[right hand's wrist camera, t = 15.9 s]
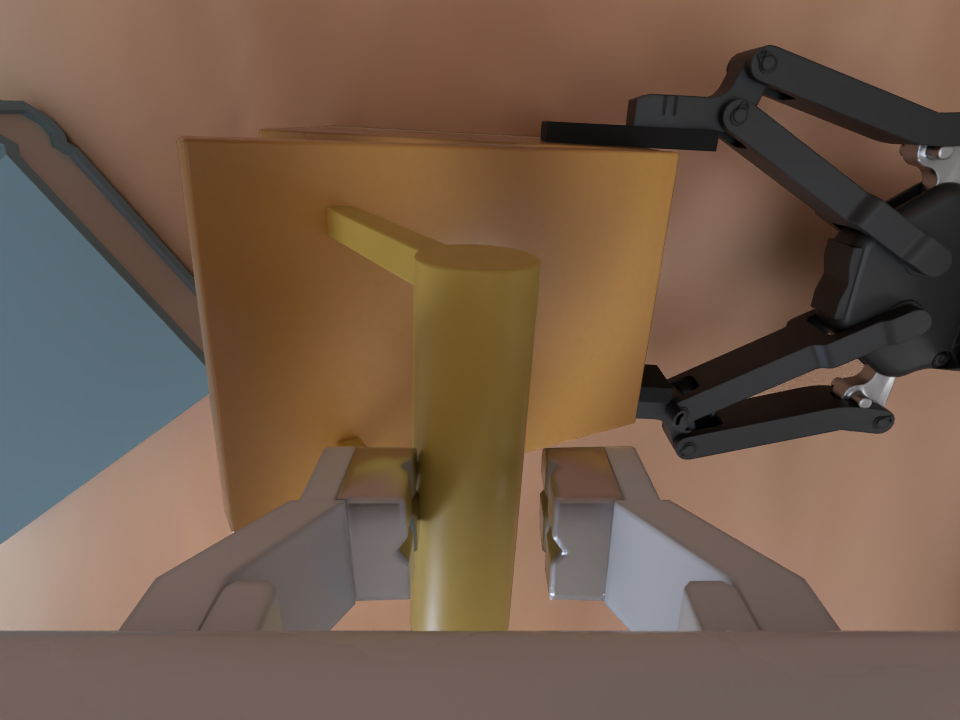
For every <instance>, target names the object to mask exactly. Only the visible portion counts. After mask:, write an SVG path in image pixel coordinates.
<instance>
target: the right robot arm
mask: <svg viewBox="0 0 960 720" xmlns="http://www.w3.org/2000/svg"><path fill="white" fill-rule="evenodd" d="M418 472H419V470H418V454H417V449H416V448H400V447H356V446H339V447H327V448H325V449H324V450H323V452H322V454H321V456H320V458H319V460H318V463H317V465H316V467H315V469H314V471H313V473H312V475H311V477H310V479H309V481H308V483H307V485H306V487H305V489H304V492H303V494H302V496H301V498H300V500H290V501H288V502H286V503H285V504H283V505H281V506H279V507H278V508H276V509H274V510H273V511H271V512H269V513H267V514H266V515H264V516H262V517H261V518H259V519H257V520H255V521H254V522H252V523H250V524H248V525H247V526H245V527H243V528H242V529H240V530H238V531H236V532H235V533H233V534H231V535H230V536H228V537H226V538H224V539H223V540H221V541H219V542H218V543H216V544H214V545H212V546H211V547H209V548H207V549H205V550H204V551H202V552H200V553H199V554H197V555H195V556H193V557H192V558H190V559H188V560H187V561H185V562H183V563H181V564H180V565H178V566H176V567H175V568H173V569H171V570H169V571H168V572H166V573H164V574H162V575H161V576H159V577H157V578H156V579H155V580H154V582H153V583H152V585H151V586H150V587H149V589H148V590H147V592H146V593H145V594H144V596H143V597H142V599H141V600H140V601H139V603H138V604H137V605H136V607H135V608H134V610H133V611H132V612H131V614H130V615H129V617H128V618H127V619H126V621H125V622H124V624H123V625H122V626H121V628H120V629H119V631H0V720H960V631H841V630H840V628H839V627H838V625H837V624H836V623H835V621H834V620H833V618H832V617H831V616H830V614H829V613H828V611H827V610H826V609H825V607H824V606H823V604H822V603H821V601H820V600H819V599H818V597H817V596H816V594H815V593H814V592H813V590H812V589H811V587H810V586H809V585H808V583H807V582H806V580H805V579H804V578H802V577H800V576H798V575H797V574H795V573H793V572H792V571H790V570H788V569H786V568H785V567H783V566H781V565H780V564H778V563H776V562H774V561H773V560H771V559H769V558H768V557H766V556H764V555H762V554H761V553H759V552H757V551H756V550H754V549H752V548H750V547H749V546H747V545H745V544H744V543H742V542H740V541H738V540H737V539H735V538H733V537H732V536H730V535H728V534H726V533H725V532H723V531H721V530H720V529H718V528H716V527H715V526H713V525H711V524H709V523H708V522H706V521H704V520H703V519H701V518H699V517H697V516H696V515H694V514H692V513H691V512H689V511H687V510H685V509H684V508H682V507H680V506H679V505H677V504H675V503H673V502H672V501H670V500H660V498H659V496H658V494H657V492H656V490H655V488H654V486H653V484H652V482H651V480H650V478H649V476H648V474H647V472H646V470H645V468H644V466H643V464H642V462H641V459H640V457H639V455H638V453H637V451H636V449H635V448H634V447H632V446H618V447H573V448H544V449H543V452H542V464H541V474H542V480H543V486H544V490H543V491H542V492H541V493H540V534H541V543H542V550H543V551H544V552H546V560H545V571H546V578H547V584H548V590H549V597H550V599H560V600H597V601H605V604H606V605H607V606H608V607H609V608H610V609H611V611H612V612H613V613H614V614H615V615H616V616H617V617H618V618H619V619H620V620H621V621H622V622H623V623H624V624H625V625H626V626H627V628H628V629H629V630H630V631H330V630H331V629H332V628H333V627H334V626H335V624H336V623H337V622H338V621H339V620H340V619H341V618H342V617H343V616H344V615H345V614H346V613H347V612H348V611H349V610H350V609H351V608H352V606H353V605H354V604H355V601H362V600H398V599H410V596H411V589H412V583H413V576H414V570H415V565H414V552H415V551H417V549H418V542H419V530H420V499H419V494H418V491H417V490H416V485H417V478H418Z"/></svg>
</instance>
